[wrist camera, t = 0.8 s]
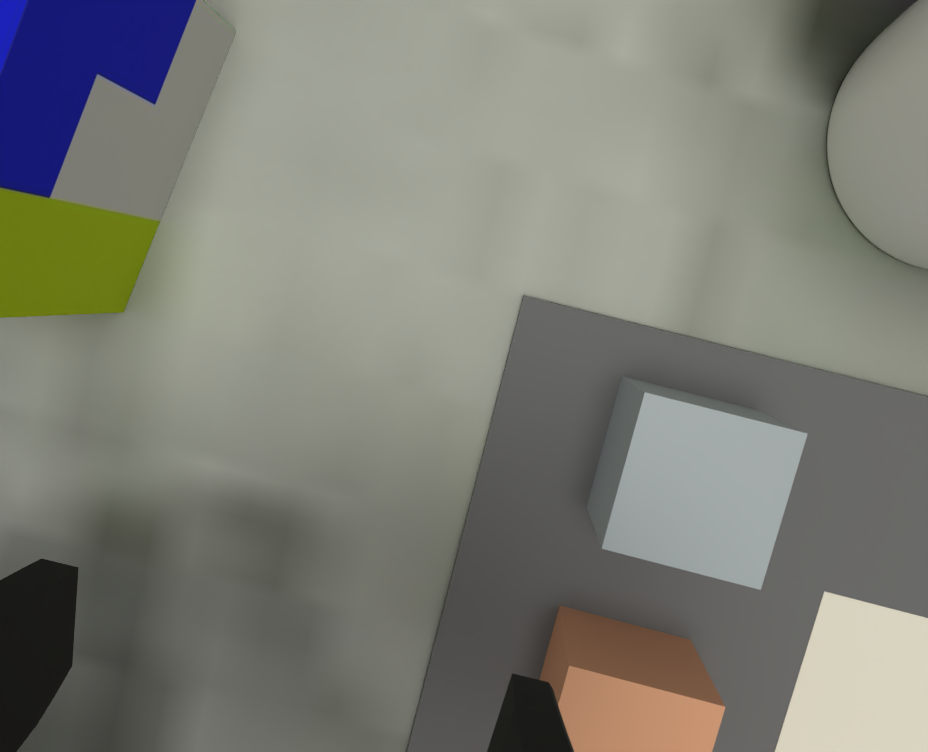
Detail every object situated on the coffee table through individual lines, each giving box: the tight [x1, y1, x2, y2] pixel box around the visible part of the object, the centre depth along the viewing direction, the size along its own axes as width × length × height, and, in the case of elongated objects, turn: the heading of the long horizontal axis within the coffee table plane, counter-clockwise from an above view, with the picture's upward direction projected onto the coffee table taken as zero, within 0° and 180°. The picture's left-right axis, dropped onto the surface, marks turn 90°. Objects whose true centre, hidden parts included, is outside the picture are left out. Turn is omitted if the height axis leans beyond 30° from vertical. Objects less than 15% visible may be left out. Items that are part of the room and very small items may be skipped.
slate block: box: [587, 376, 808, 590], centre depth 25 cm, size 4×4×4 cm
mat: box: [407, 296, 928, 752], centre depth 28 cm, size 24×22×1 cm
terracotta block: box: [539, 606, 725, 752], centre depth 25 cm, size 4×4×4 cm
